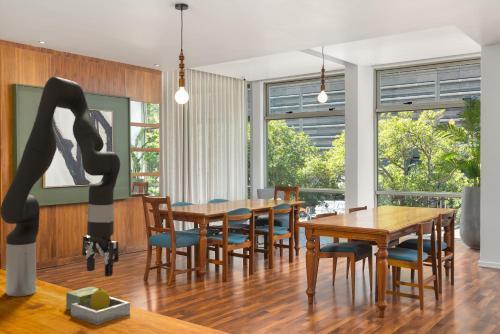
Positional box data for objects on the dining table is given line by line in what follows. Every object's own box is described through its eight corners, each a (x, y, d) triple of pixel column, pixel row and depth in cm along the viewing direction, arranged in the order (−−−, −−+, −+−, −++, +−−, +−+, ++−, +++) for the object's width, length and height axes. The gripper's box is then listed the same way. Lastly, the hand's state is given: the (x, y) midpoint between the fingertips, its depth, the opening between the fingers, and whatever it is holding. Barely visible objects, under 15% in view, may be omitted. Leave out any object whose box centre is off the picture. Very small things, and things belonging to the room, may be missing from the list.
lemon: (104, 318, 149) (104, 291, 149) (86, 317, 150) (86, 290, 150) (113, 312, 154) (113, 286, 154) (96, 311, 156) (96, 285, 155)
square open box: (57, 311, 155) (57, 294, 155) (91, 301, 165) (91, 286, 165) (96, 324, 144) (96, 307, 144) (129, 314, 153) (130, 297, 153)
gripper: (75, 217, 152) (74, 271, 153) (105, 223, 143) (103, 280, 144) (96, 215, 158) (95, 267, 159) (126, 220, 149) (125, 275, 150)
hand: (99, 273), depth 152 cm, fingers open, 8 cm apart
